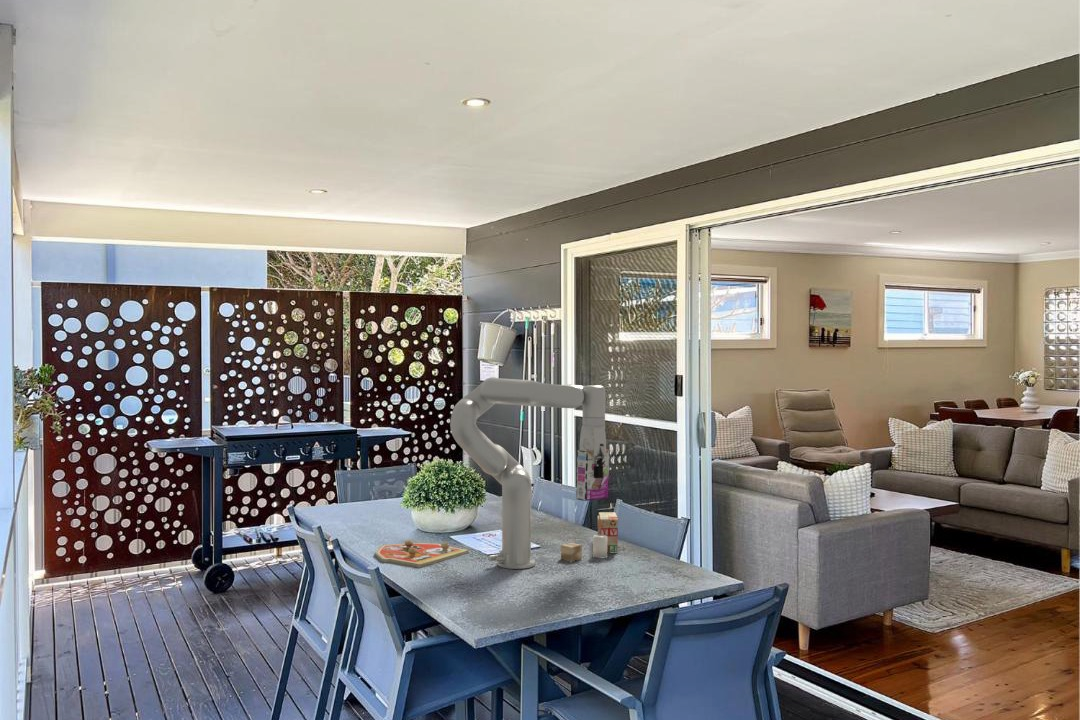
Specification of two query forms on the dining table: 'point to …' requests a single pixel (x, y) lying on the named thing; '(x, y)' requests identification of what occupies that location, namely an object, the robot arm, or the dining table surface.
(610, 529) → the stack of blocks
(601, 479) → the candy bar box
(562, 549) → the oak block
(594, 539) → the cream plastic peg
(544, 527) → the dining table surface
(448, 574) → the dining table surface
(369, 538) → the dining table surface
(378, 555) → the knob puzzle
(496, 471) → the robot arm
